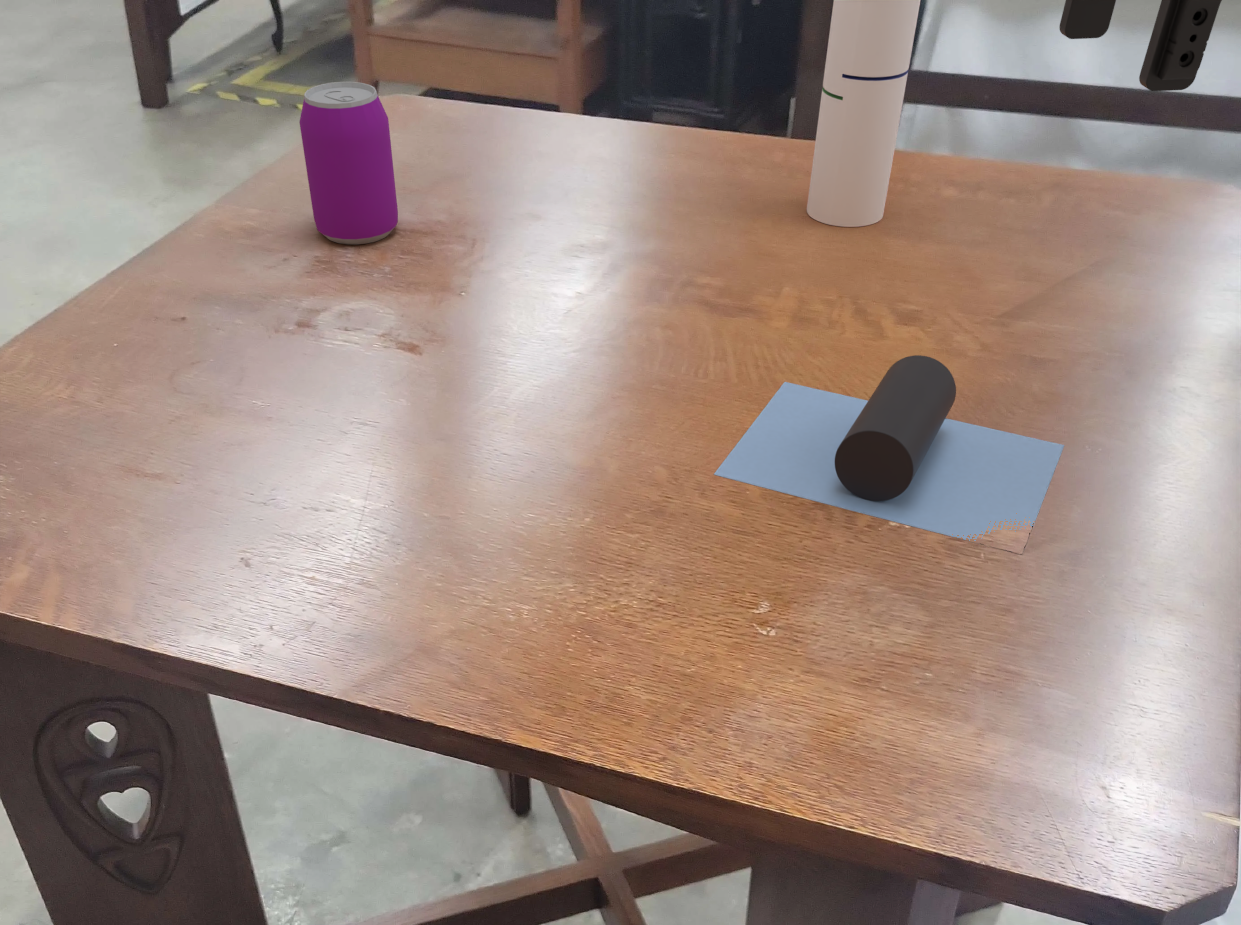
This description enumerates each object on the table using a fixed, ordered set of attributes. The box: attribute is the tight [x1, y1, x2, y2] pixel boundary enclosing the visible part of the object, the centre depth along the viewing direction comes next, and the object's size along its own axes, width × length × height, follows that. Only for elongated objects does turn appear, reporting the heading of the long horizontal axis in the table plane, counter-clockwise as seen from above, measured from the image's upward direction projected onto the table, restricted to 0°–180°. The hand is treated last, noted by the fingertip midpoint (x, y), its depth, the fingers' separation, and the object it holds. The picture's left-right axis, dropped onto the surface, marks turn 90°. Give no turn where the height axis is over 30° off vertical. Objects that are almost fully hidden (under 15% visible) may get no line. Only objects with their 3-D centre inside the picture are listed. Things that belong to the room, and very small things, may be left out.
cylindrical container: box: [806, 0, 921, 228], centre depth 103 cm, size 7×7×25 cm
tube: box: [835, 354, 957, 501], centre depth 78 cm, size 11×5×5 cm, turn 153°
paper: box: [713, 381, 1065, 542], centre depth 80 cm, size 20×14×1 cm
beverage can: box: [299, 81, 399, 245], centre depth 106 cm, size 8×8×12 cm
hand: (1120, 60), depth 55 cm, fingers open, 8 cm apart
